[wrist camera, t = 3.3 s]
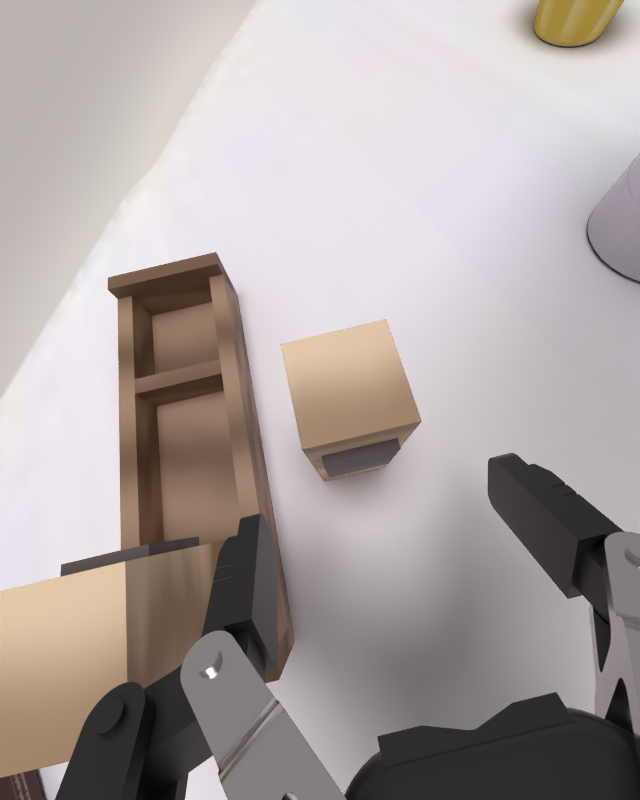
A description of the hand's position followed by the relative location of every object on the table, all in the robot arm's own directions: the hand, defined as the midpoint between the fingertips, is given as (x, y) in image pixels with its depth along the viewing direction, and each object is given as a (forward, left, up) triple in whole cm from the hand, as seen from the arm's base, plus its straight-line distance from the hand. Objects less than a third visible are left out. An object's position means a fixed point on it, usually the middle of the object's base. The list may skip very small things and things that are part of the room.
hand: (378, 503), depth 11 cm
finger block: (-4, -2, -9) cm, 10 cm away
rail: (-1, -11, -9) cm, 15 cm away
